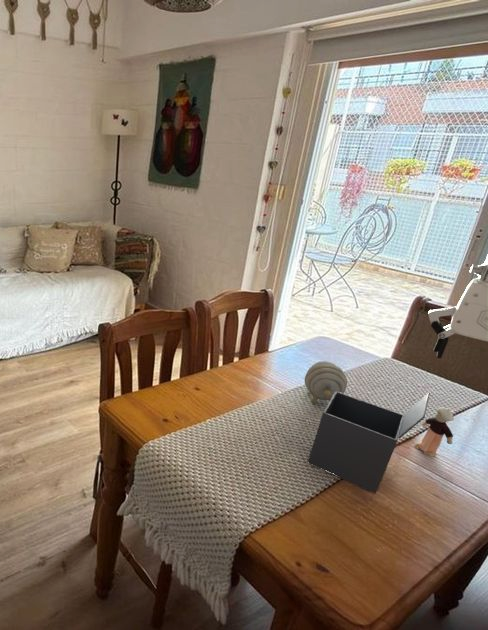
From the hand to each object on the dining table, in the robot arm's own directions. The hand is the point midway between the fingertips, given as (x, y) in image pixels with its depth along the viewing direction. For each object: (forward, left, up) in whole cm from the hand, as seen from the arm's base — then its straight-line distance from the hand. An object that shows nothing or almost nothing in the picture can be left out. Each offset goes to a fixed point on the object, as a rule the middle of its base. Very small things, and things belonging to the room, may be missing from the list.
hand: (470, 364), depth 82 cm
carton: (+13, 0, -32) cm, 35 cm away
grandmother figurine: (-1, -19, -32) cm, 38 cm away
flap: (+5, 0, -14) cm, 15 cm away
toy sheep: (+25, -26, -32) cm, 48 cm away
